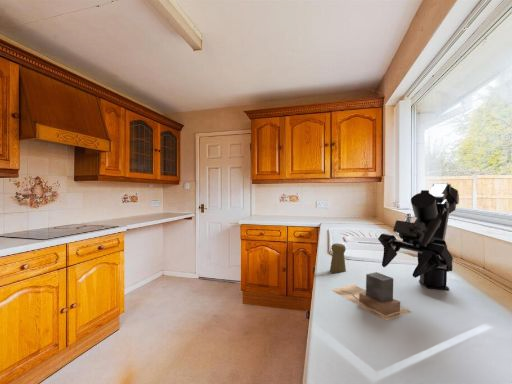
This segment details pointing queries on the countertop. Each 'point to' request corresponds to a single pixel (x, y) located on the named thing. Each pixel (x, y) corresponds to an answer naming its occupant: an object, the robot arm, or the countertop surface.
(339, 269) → the cork
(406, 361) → the countertop surface
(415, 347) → the countertop surface
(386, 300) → the sanding block
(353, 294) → the pine board
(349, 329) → the countertop surface
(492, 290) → the countertop surface
